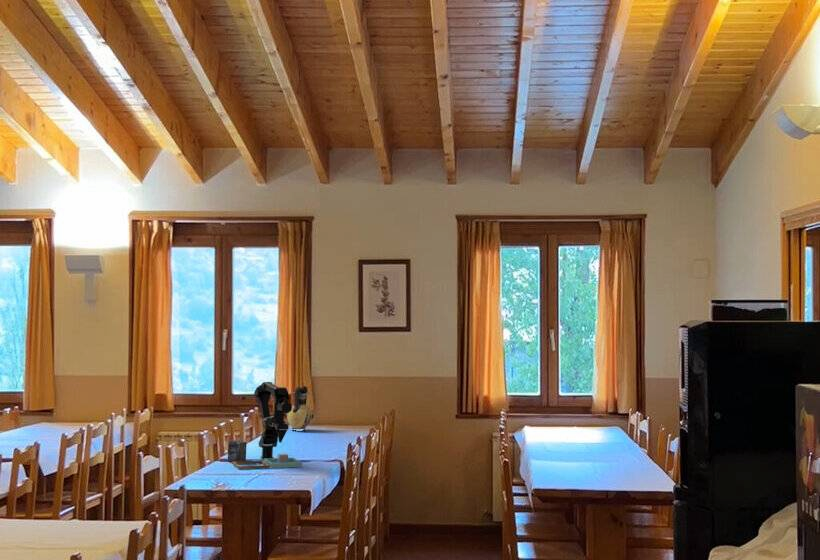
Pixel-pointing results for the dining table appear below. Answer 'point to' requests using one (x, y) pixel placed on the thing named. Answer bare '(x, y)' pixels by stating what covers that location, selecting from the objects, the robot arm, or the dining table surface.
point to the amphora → (300, 410)
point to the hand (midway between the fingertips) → (277, 441)
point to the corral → (249, 463)
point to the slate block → (282, 458)
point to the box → (236, 451)
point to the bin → (273, 463)
